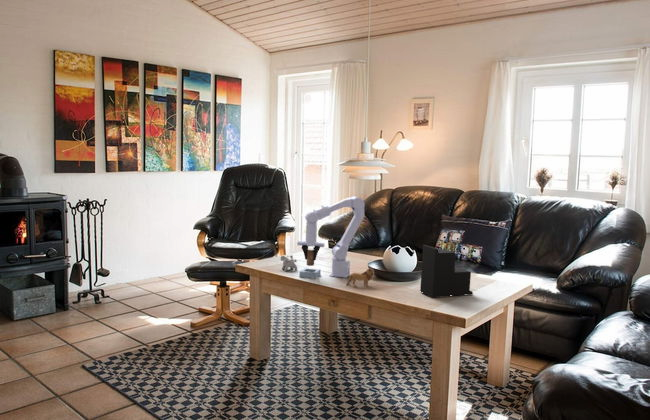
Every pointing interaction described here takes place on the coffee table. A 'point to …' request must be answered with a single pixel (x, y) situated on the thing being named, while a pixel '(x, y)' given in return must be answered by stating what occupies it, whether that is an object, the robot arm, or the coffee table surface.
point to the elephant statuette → (288, 262)
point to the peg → (310, 257)
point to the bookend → (442, 274)
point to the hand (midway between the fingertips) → (310, 259)
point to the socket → (310, 273)
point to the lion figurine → (361, 277)
